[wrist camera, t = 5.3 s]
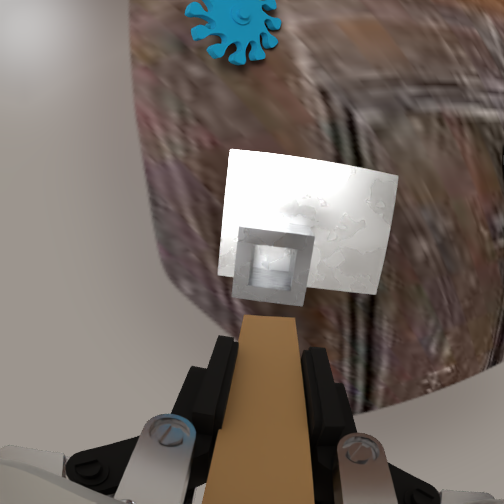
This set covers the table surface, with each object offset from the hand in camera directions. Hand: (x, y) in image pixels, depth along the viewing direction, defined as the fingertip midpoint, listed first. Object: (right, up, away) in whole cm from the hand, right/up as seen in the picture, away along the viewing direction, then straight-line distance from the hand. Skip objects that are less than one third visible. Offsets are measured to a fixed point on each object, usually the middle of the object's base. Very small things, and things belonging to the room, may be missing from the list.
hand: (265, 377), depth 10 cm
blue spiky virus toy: (-1, +27, +14) cm, 30 cm away
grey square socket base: (+5, +7, +18) cm, 20 cm away
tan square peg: (0, +1, +3) cm, 3 cm away
